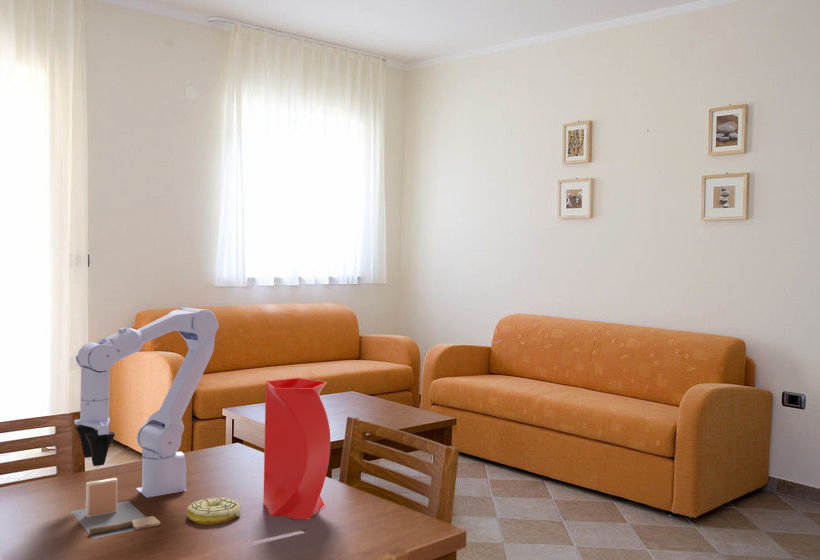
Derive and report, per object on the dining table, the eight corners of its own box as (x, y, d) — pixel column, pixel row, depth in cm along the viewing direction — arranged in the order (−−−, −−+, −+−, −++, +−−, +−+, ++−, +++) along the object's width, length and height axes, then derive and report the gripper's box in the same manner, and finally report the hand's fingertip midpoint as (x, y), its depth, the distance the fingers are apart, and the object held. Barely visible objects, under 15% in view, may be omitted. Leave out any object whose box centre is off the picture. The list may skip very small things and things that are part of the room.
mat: (128, 503, 164) (128, 500, 164) (155, 528, 150) (155, 526, 150) (70, 514, 157) (70, 511, 157) (93, 541, 142) (93, 538, 142)
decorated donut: (249, 520, 157) (250, 502, 156) (205, 533, 149) (205, 514, 149) (222, 507, 164) (222, 490, 164) (178, 519, 156) (178, 501, 156)
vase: (337, 510, 163) (340, 385, 162) (285, 527, 152) (288, 393, 151) (295, 494, 173) (297, 375, 172) (242, 508, 163) (245, 382, 162)
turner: (153, 518, 154) (153, 512, 154) (160, 524, 150) (160, 518, 150) (87, 532, 146) (87, 525, 146) (93, 539, 142) (93, 532, 142)
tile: (115, 510, 158) (115, 477, 158) (117, 512, 157) (118, 479, 157) (85, 515, 154) (86, 482, 154) (87, 517, 153) (88, 484, 153)
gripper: (67, 394, 163) (66, 455, 163) (84, 406, 151) (82, 472, 152) (100, 391, 167) (99, 451, 168) (119, 403, 156) (118, 467, 156)
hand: (93, 460), depth 160 cm, fingers open, 7 cm apart
